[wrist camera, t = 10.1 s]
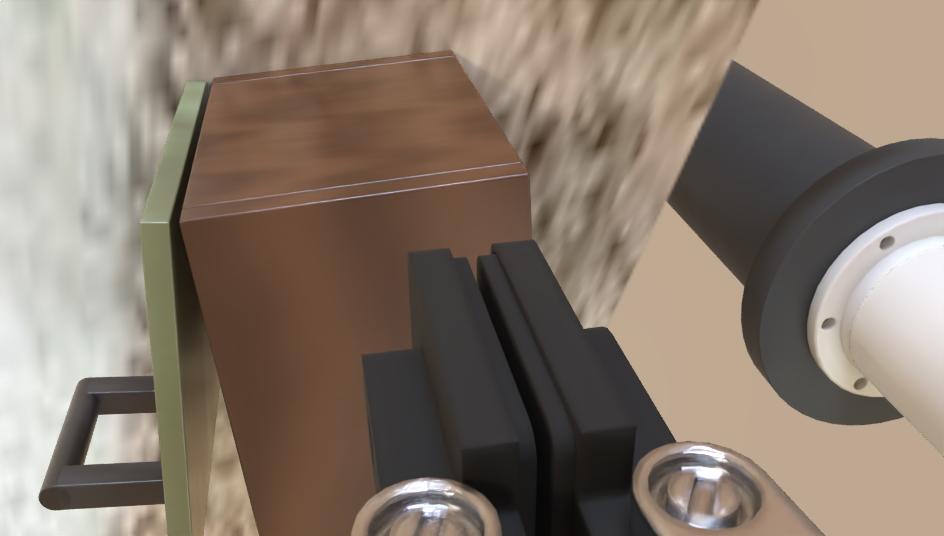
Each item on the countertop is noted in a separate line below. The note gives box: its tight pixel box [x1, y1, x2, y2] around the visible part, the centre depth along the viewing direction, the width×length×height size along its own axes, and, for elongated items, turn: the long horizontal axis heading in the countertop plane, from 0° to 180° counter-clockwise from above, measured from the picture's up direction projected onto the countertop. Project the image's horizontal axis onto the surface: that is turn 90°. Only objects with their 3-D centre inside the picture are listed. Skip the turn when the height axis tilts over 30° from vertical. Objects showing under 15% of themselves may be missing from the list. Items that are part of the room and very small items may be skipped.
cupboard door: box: [39, 81, 220, 536], centre depth 33 cm, size 6×15×14 cm, turn 175°
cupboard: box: [179, 51, 532, 536], centre depth 34 cm, size 10×15×14 cm
